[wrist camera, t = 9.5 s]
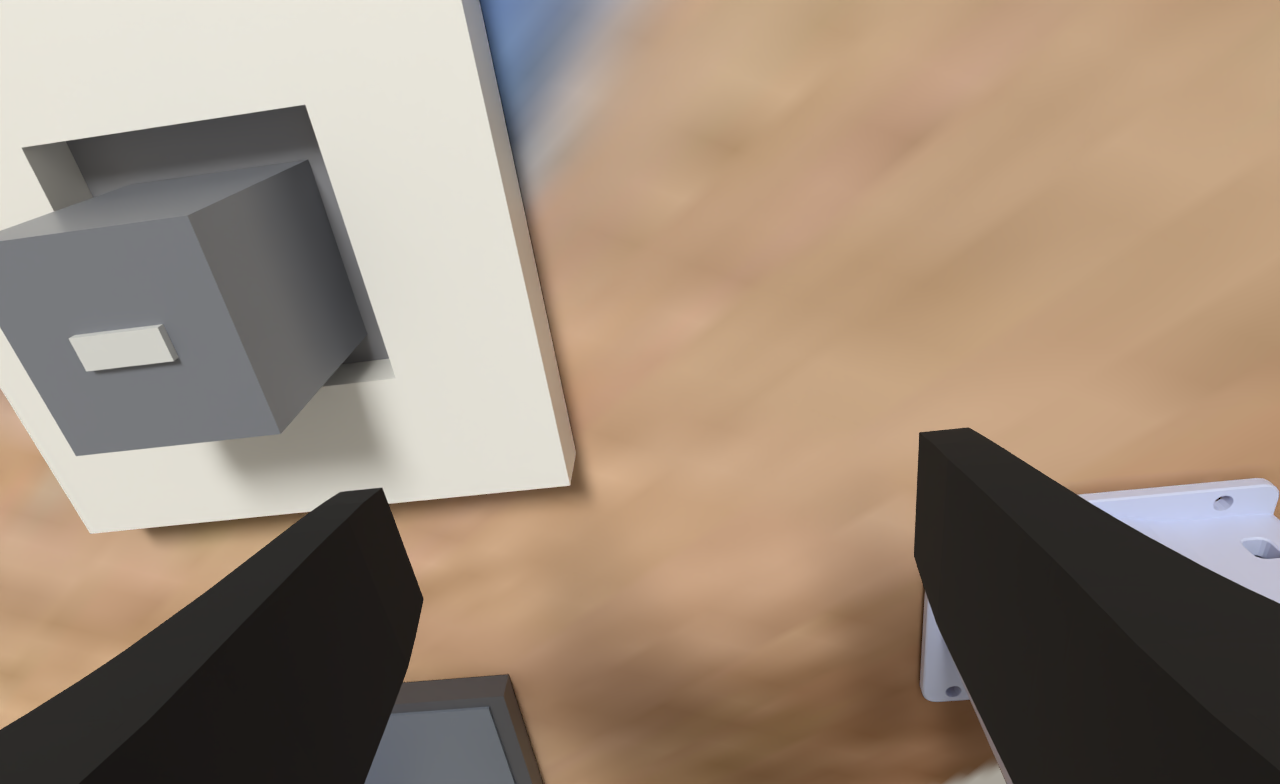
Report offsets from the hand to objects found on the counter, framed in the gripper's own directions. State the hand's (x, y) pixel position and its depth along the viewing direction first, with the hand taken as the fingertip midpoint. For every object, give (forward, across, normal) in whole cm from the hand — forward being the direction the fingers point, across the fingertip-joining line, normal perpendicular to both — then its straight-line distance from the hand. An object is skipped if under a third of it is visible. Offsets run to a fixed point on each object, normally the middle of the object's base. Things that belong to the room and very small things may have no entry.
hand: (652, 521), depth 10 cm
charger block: (+10, +10, -2) cm, 14 cm away
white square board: (+10, +10, -2) cm, 14 cm away
